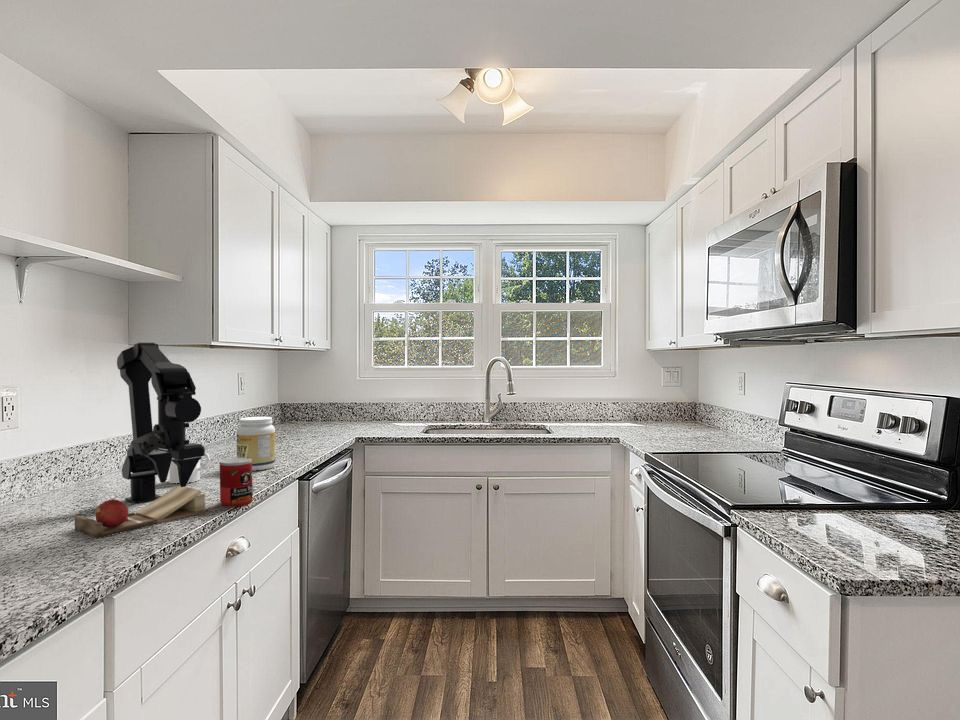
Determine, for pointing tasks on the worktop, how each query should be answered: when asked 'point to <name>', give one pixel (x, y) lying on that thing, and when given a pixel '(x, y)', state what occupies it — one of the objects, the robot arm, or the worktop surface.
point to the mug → (194, 476)
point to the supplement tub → (257, 442)
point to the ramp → (174, 503)
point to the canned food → (236, 482)
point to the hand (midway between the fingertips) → (172, 484)
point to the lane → (126, 523)
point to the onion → (112, 513)
